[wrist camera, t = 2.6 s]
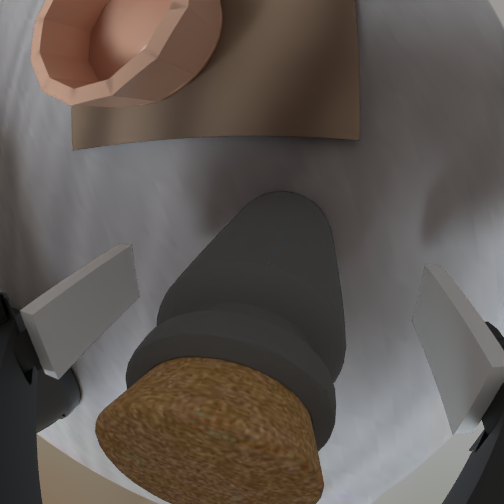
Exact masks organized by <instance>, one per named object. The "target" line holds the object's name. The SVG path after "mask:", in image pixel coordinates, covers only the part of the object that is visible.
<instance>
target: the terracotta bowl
mask: <svg viewBox="0 0 504 504" xmlns="http://www.w3.org/2000/svg"><path fill="white" fill-rule="evenodd" d="M222 26H223V10H222V6H221V2H220V0H46V1H45V3H44V5H43V6H42V8H41V10H40V12H39V14H38V16H37V18H36V20H35V26H34V33H33V40H32V48H31V58H30V61H31V63H32V66H33V69H34V71H35V74H36V77H37V79H38V82H39V84H40V87H41V89H42V91H43V92H45V93H47V94H49V95H51V96H53V97H55V98H57V99H59V100H61V101H62V102H64V103H66V104H68V105H70V106H96V107H115V108H123V107H128V106H142V105H148V104H152V103H156V102H159V101H161V100H164V99H166V98H168V97H170V96H172V95H174V94H175V93H177V92H178V91H180V90H182V89H183V88H184V87H185V86H187V85H188V84H189V83H190V82H191V81H192V80H194V79H195V78H196V77H197V76H198V75H199V73H200V72H201V71H202V70H203V69H204V67H205V66H206V65H207V63H208V62H209V60H210V59H211V57H212V55H213V53H214V51H215V50H216V47H217V45H218V42H219V40H220V36H221V32H222Z"/></svg>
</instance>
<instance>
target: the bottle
mask: <svg viewBox="0 0 504 504" xmlns="http://www.w3.org/2000/svg"><path fill="white" fill-rule="evenodd" d="M345 351H346V338H345V322H344V310H343V302H342V294H341V287H340V280H339V273H338V267H337V260H336V254H335V248H334V242H333V238H332V233H331V229H330V226H329V223H328V221H327V219H326V217H325V215H324V214H323V212H322V211H321V210H320V208H319V207H318V206H316V205H315V204H314V203H313V202H312V201H310V200H309V199H307V198H305V197H303V196H301V195H298V194H295V193H292V192H271V193H267V194H265V195H262V196H260V197H258V198H256V199H254V200H253V201H252V202H250V203H249V204H248V205H247V206H246V207H245V208H243V209H242V210H241V211H240V212H239V213H238V214H237V215H236V216H235V217H234V218H233V220H232V221H231V222H230V223H229V224H228V225H227V226H226V227H225V228H224V229H223V230H222V231H221V232H220V233H219V234H218V235H217V236H216V237H215V238H214V239H213V240H212V241H211V242H210V243H209V245H208V246H207V247H206V248H205V249H204V250H203V251H202V252H201V253H200V254H199V255H198V257H197V258H196V259H195V260H194V261H193V262H192V263H191V264H190V265H189V266H188V268H187V269H186V270H185V271H184V272H183V273H182V274H181V275H180V277H179V278H178V279H177V280H176V281H175V283H174V284H173V285H172V286H171V287H170V289H169V290H168V292H167V293H166V295H165V297H164V299H163V301H162V304H161V306H160V309H159V313H158V317H157V327H155V328H154V329H153V330H152V331H151V332H150V333H149V334H148V335H147V336H146V338H145V339H144V340H143V341H142V343H141V344H140V345H139V346H138V348H137V349H136V350H135V352H134V354H133V355H132V357H131V359H130V361H129V363H128V367H127V372H126V384H127V390H126V391H125V392H124V393H123V394H122V395H120V396H119V397H118V398H117V399H116V400H114V401H113V402H112V403H111V404H110V405H108V406H107V407H106V408H105V409H104V410H103V411H102V412H101V413H100V414H99V416H98V418H97V421H96V428H95V433H96V436H97V439H98V442H99V445H100V446H101V448H102V450H103V451H104V453H105V454H106V456H107V457H108V458H109V459H110V461H111V462H112V463H113V464H114V465H115V466H116V467H117V468H118V469H119V470H120V471H121V472H122V473H123V474H124V475H125V476H127V477H128V478H129V479H130V480H132V481H133V482H134V483H136V484H137V485H139V486H140V487H142V488H143V489H145V490H147V491H148V492H150V493H151V494H153V495H155V496H157V497H159V498H161V499H162V500H164V501H167V502H169V503H171V504H316V503H317V502H318V501H319V499H320V498H321V496H322V492H323V488H324V482H323V476H322V471H321V466H320V461H319V456H318V451H319V450H320V449H321V448H322V447H323V446H324V445H325V444H326V443H327V441H328V439H329V438H330V436H331V433H332V431H333V428H334V425H335V415H336V398H335V388H334V384H333V383H334V382H335V380H336V379H337V377H338V375H339V373H340V371H341V369H342V366H343V363H344V357H345Z"/></svg>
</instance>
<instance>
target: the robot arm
mask: <svg viewBox="0 0 504 504" xmlns="http://www.w3.org/2000/svg"><path fill="white" fill-rule="evenodd" d="M139 297H140V295H139V290H138V284H137V278H136V271H135V265H134V258H133V251H132V245H128V244H118V245H116V246H115V247H113V248H111V249H110V250H108V251H107V252H105V253H103V254H102V255H100V256H99V257H97V258H96V259H94V260H92V261H91V262H89V263H88V264H86V265H85V266H83V267H82V268H80V269H79V270H77V271H76V272H74V273H73V274H71V275H70V276H68V277H67V278H65V279H64V280H62V281H61V282H59V283H58V284H56V285H55V286H54V287H52V288H51V289H49V290H48V291H46V292H45V293H43V294H42V295H41V296H39V297H38V298H36V299H35V300H34V301H32V302H31V303H29V304H28V305H27V306H25V307H24V308H23V309H21V310H20V312H19V311H17V310H15V309H12V308H11V305H10V302H9V299H8V296H7V294H6V293H3V292H0V504H42V498H41V490H40V482H39V471H38V460H37V438H36V433H38V432H40V431H41V430H43V429H45V428H47V427H48V426H50V425H51V424H53V423H54V422H56V421H57V420H58V419H63V418H65V417H67V416H68V415H69V414H70V413H71V412H72V411H73V410H74V408H75V407H76V406H77V405H78V403H79V401H80V391H79V387H78V384H77V381H76V379H75V377H74V375H73V373H72V371H71V369H70V367H71V366H72V365H73V364H74V363H75V362H76V361H77V360H78V359H79V358H80V357H81V356H82V355H83V353H84V352H85V351H86V350H87V349H88V348H89V347H90V346H91V345H92V344H93V343H94V342H95V341H96V340H97V339H98V338H99V337H100V336H101V335H102V334H103V333H104V332H105V331H106V330H107V329H108V328H109V327H110V326H111V325H112V324H113V323H114V322H115V321H116V320H117V319H118V318H119V317H120V316H121V315H122V314H123V313H124V312H125V311H126V310H127V309H128V308H129V307H130V306H131V305H132V304H133V303H134V302H135V301H136V300H137V299H138V298H139ZM412 322H413V325H414V327H415V329H416V332H417V334H418V337H419V339H420V342H421V344H422V347H423V349H424V352H425V354H426V357H427V359H428V362H429V365H430V367H431V370H432V373H433V376H434V378H435V381H436V384H437V387H438V390H439V393H440V396H441V399H442V402H443V405H444V408H445V411H446V414H447V417H448V421H449V424H450V427H451V431H452V434H453V436H454V435H461V434H467V433H472V432H473V431H474V430H475V428H476V427H477V425H478V424H479V423H480V421H481V420H482V422H483V425H484V428H485V429H484V431H483V432H482V433H481V435H480V436H479V437H478V439H477V440H476V442H475V443H474V444H473V446H472V447H471V448H470V449H469V451H472V450H473V451H472V453H471V455H470V457H469V459H468V461H467V463H466V464H465V466H464V468H463V470H462V472H461V474H460V475H459V477H458V479H457V480H456V482H455V484H454V486H453V487H452V489H451V490H450V492H449V494H448V495H447V497H446V498H445V500H444V502H443V503H442V504H504V337H503V336H502V335H501V333H500V332H499V330H498V329H497V328H495V327H494V326H493V325H492V324H490V323H489V322H484V321H483V319H482V318H481V317H480V315H479V314H478V312H477V311H476V310H475V308H474V307H473V306H472V304H471V303H470V302H469V300H468V299H467V298H466V296H465V295H464V294H463V293H462V291H461V290H460V289H459V287H458V286H457V285H456V284H455V282H454V281H453V280H452V279H451V277H450V276H449V275H448V274H447V273H446V271H445V270H444V269H443V268H442V266H441V265H426V264H425V268H424V273H423V277H422V282H421V286H420V291H419V295H418V299H417V303H416V307H415V311H414V315H413V318H412Z"/></svg>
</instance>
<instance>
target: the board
mask: <svg viewBox="0 0 504 504" xmlns="http://www.w3.org/2000/svg"><path fill="white" fill-rule="evenodd" d="M220 2H221V6H222V10H223V26H222V32H221V36H220V40H219V42H218V45H217V47H216V50H215V51H214V53H213V55H212V57H211V59H210V60H209V62H208V63H207V65H206V66H205V67H204V69H203V70H202V71H201V72H200V73H199V75H198V76H197V77H196V78H195V79H194V80H192V81H191V82H190V83H189V84H188V85H187V86H185V87H184V88H183V89H182V90H180V91H178V92H177V93H175V94H174V95H172V96H170V97H168V98H166V99H164V100H161V101H159V102H156V103H152V104H148V105H142V106H128V107H123V108H115V107H96V106H72V145H73V151H74V150H80V149H87V148H94V147H101V146H108V145H116V144H124V143H133V142H143V141H153V140H165V139H179V138H195V137H219V136H295V137H319V138H335V139H349V140H360V74H359V49H358V32H357V19H356V7H355V0H220Z"/></svg>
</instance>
